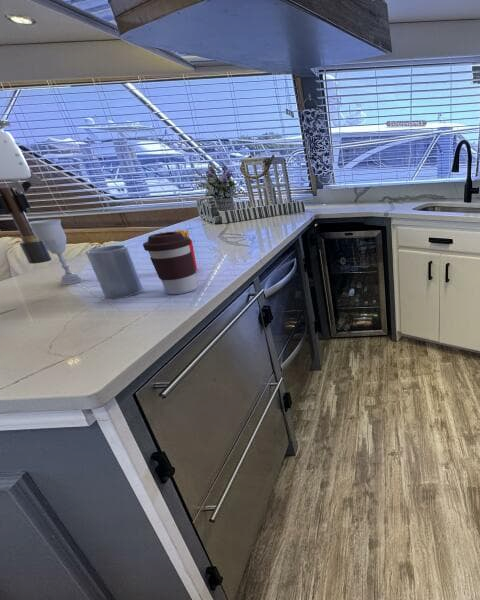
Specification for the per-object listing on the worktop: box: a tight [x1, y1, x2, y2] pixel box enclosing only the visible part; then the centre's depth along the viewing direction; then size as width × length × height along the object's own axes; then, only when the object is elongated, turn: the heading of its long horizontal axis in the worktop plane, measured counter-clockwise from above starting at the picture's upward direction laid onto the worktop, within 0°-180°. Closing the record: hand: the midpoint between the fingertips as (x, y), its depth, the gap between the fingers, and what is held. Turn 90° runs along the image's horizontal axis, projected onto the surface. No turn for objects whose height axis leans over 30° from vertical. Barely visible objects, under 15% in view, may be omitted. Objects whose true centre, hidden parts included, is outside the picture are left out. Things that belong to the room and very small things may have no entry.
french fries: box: [159, 229, 198, 271], centre depth 99 cm, size 9×4×13 cm, turn 137°
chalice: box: [29, 218, 85, 286], centre depth 93 cm, size 7×7×18 cm
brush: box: [0, 186, 52, 264], centre depth 77 cm, size 4×4×18 cm
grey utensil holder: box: [85, 244, 144, 299], centre depth 83 cm, size 8×8×12 cm
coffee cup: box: [142, 231, 199, 295], centre depth 83 cm, size 10×10×15 cm
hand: (16, 211), depth 76 cm, fingers closed on brush, 2 cm apart
